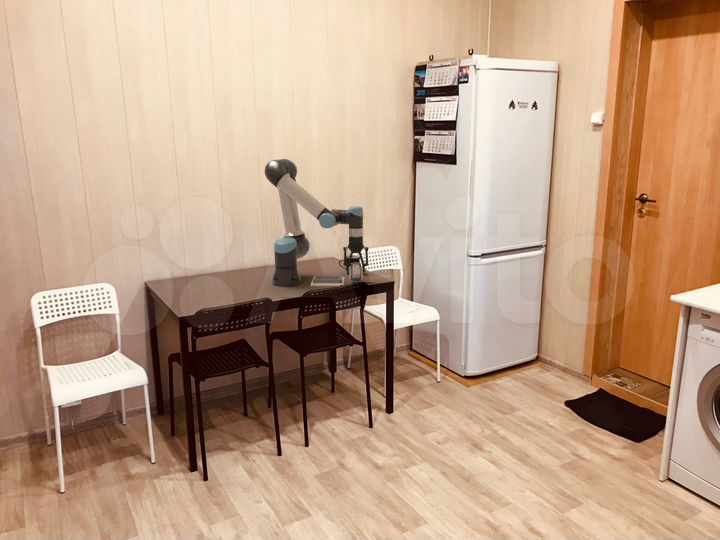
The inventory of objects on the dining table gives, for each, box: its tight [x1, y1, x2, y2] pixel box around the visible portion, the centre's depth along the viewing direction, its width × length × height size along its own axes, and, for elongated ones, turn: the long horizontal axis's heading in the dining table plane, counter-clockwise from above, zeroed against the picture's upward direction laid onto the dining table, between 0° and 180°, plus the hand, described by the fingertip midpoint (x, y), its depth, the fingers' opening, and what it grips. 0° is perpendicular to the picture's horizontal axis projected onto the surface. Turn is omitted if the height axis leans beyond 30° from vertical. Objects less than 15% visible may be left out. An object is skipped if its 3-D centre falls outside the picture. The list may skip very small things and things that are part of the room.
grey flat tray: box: [310, 275, 345, 287], centre depth 306 cm, size 17×16×2 cm
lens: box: [350, 262, 362, 284], centre depth 306 cm, size 6×6×10 cm
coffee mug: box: [338, 254, 361, 276], centre depth 324 cm, size 12×9×10 cm
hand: (355, 278), depth 307 cm, fingers closed on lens, 6 cm apart
